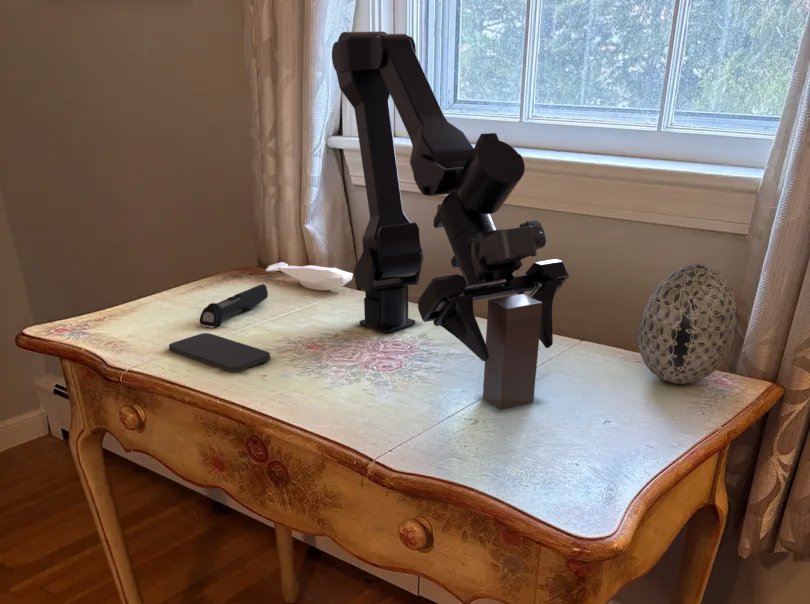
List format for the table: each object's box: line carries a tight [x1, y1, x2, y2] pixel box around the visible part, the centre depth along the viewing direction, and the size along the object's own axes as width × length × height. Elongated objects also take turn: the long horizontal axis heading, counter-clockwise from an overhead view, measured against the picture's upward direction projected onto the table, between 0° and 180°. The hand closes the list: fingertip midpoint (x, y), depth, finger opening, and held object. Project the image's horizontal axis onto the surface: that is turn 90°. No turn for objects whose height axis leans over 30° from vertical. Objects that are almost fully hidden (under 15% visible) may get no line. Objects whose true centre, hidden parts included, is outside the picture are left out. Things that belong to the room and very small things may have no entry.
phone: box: [168, 332, 271, 373], centre depth 113 cm, size 7×1×15 cm
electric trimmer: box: [199, 283, 269, 329], centre depth 128 cm, size 4×16×3 cm, turn 153°
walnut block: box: [482, 294, 542, 410], centre depth 96 cm, size 4×5×12 cm
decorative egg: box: [637, 263, 738, 385], centre depth 100 cm, size 12×12×15 cm
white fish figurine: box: [265, 261, 354, 291], centre depth 141 cm, size 6×18×4 cm, turn 52°
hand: (518, 352), depth 95 cm, fingers open, 9 cm apart
